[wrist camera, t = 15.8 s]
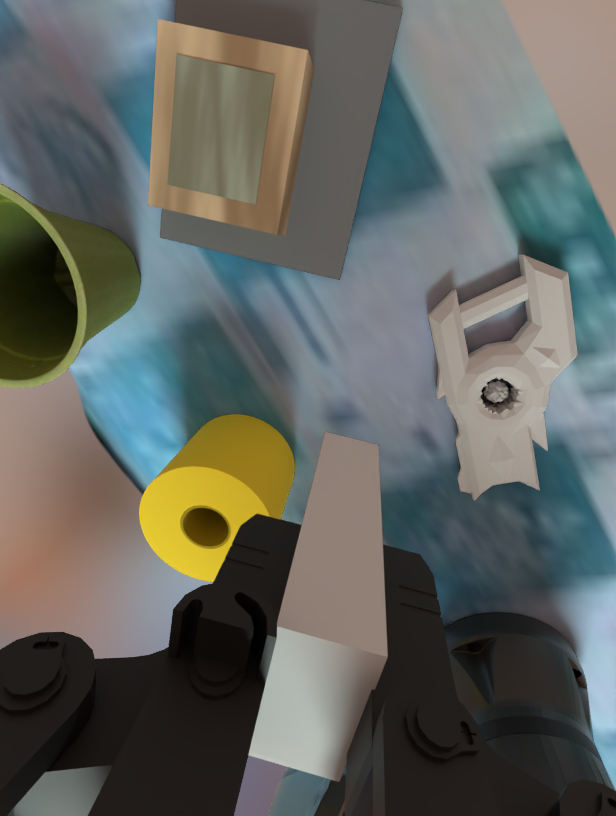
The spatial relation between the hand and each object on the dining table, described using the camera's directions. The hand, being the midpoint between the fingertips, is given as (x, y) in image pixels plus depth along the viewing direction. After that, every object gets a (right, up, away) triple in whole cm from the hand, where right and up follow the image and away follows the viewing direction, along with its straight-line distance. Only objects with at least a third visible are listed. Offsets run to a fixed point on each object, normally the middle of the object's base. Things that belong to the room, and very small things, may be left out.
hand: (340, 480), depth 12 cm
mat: (-4, +21, +17) cm, 27 cm away
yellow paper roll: (-7, -3, +27) cm, 29 cm away
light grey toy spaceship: (+14, +4, +22) cm, 26 cm away
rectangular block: (-2, +19, +16) cm, 24 cm away
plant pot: (-18, +13, +23) cm, 32 cm away
